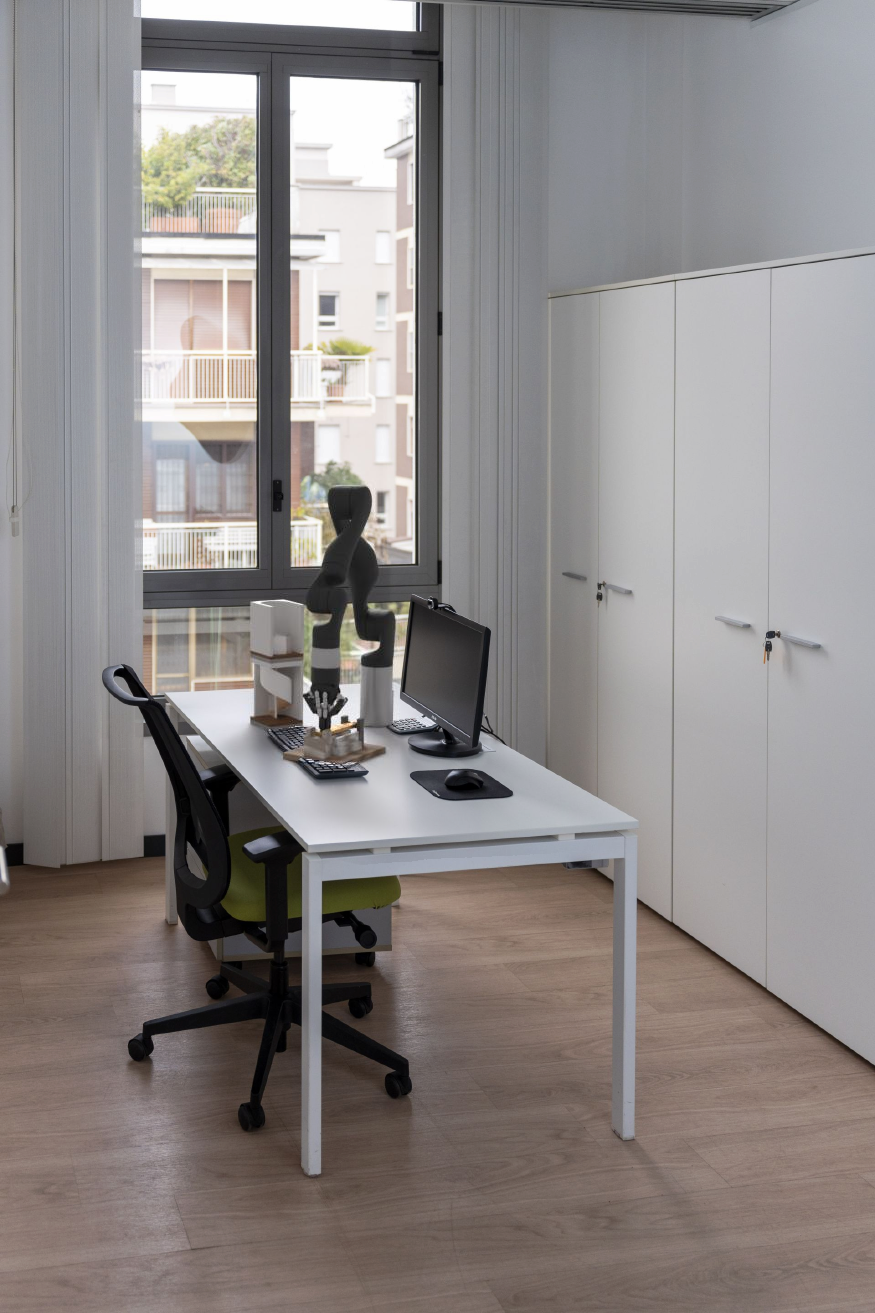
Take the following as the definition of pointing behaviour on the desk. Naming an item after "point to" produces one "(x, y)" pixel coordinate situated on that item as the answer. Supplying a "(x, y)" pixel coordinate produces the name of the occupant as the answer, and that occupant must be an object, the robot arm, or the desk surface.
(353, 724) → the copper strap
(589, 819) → the desk surface
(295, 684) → the display case
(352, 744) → the wooden jig fixture
